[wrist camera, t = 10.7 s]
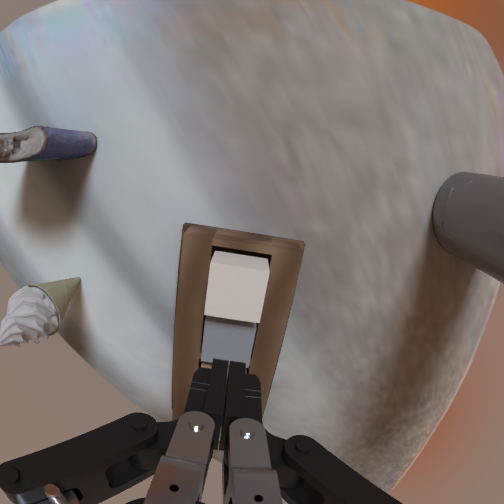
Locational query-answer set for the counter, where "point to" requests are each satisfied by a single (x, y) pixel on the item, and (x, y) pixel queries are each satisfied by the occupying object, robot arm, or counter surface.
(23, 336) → the ice cream cone
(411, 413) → the counter surface
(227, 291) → the ivory key
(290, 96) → the counter surface
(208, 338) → the slate key
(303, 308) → the counter surface
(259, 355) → the brown wooden tray
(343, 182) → the counter surface
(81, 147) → the flask
